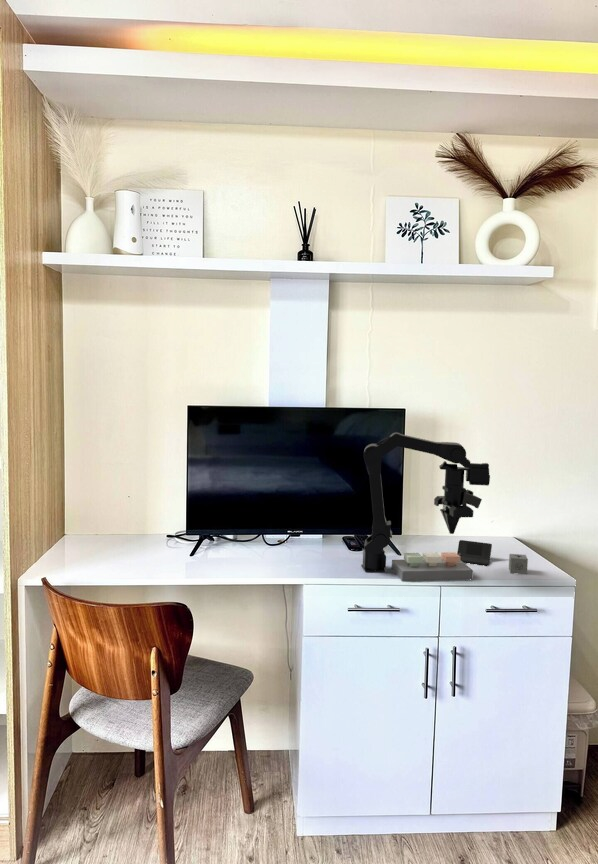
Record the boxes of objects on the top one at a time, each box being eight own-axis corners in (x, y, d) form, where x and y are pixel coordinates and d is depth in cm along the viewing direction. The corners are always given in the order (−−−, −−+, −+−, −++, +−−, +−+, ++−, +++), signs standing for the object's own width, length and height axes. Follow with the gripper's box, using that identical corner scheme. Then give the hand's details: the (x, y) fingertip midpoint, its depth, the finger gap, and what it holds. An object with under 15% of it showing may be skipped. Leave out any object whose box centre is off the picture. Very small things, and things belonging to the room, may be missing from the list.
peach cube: (445, 571, 214) (446, 556, 213) (440, 567, 218) (441, 552, 218) (459, 571, 214) (460, 556, 214) (454, 566, 219) (455, 552, 219)
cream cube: (426, 571, 213) (427, 556, 213) (421, 567, 218) (422, 552, 217) (440, 571, 214) (441, 556, 213) (436, 567, 218) (436, 552, 218)
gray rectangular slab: (402, 581, 208) (402, 571, 208) (391, 568, 220) (392, 559, 220) (472, 579, 211) (472, 570, 211) (458, 567, 223) (458, 558, 223)
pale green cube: (407, 572, 212) (408, 557, 212) (403, 567, 217) (403, 553, 216) (422, 571, 213) (422, 557, 212) (417, 567, 217) (418, 552, 217)
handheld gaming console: (454, 558, 228) (459, 531, 233) (452, 566, 234) (457, 539, 239) (490, 567, 225) (494, 539, 230) (487, 575, 231) (491, 547, 236)
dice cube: (524, 570, 223) (525, 554, 223) (526, 574, 218) (527, 559, 218) (508, 568, 224) (509, 553, 223) (510, 573, 219) (511, 558, 219)
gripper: (491, 489, 205) (488, 541, 207) (468, 478, 224) (465, 526, 225) (455, 489, 204) (452, 541, 206) (434, 478, 222) (432, 526, 224)
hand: (451, 533), depth 215 cm, fingers closed
